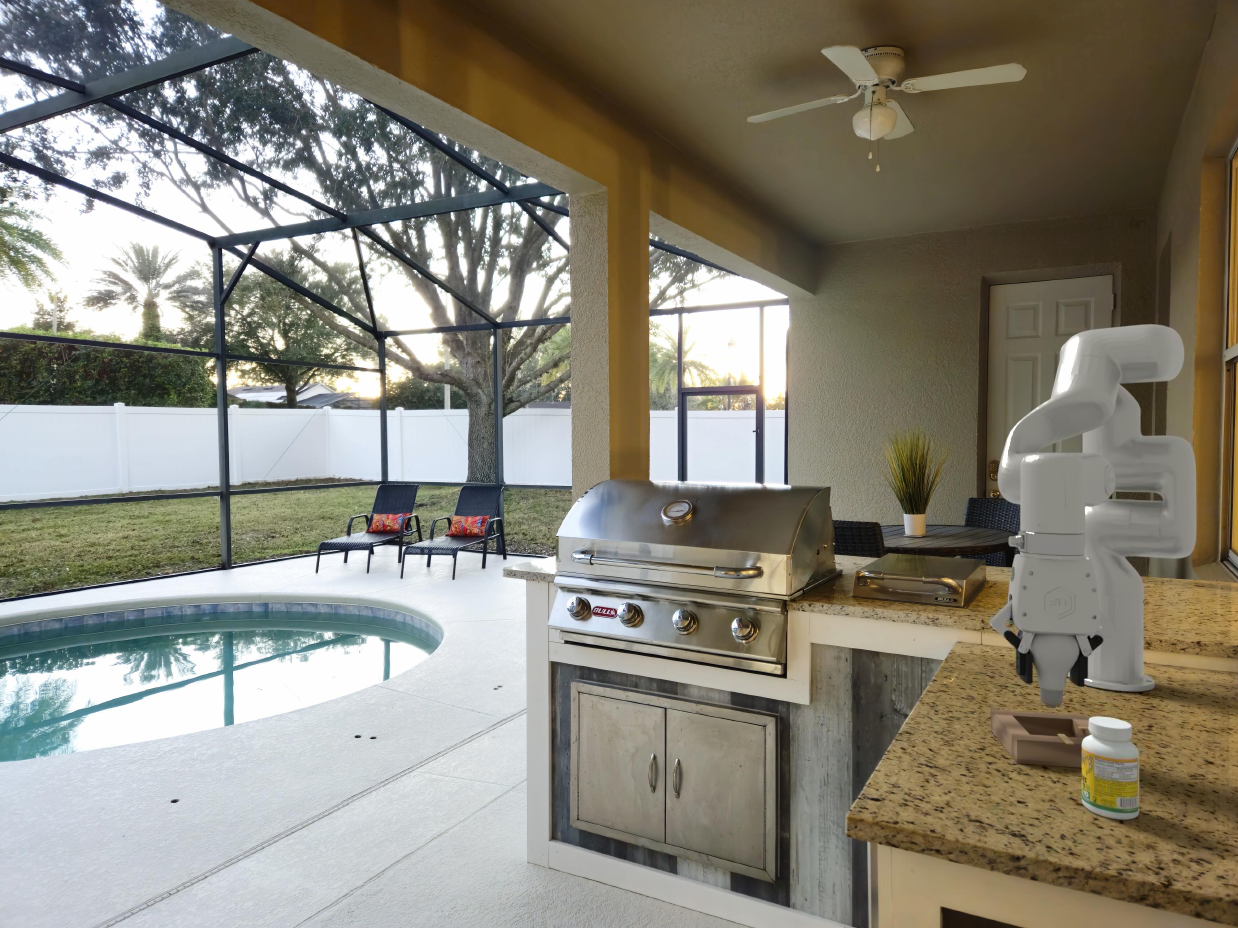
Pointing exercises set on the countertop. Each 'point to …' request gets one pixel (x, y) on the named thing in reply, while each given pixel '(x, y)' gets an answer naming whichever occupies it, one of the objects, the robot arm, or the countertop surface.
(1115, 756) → the supplement bottle
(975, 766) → the countertop surface
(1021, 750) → the socket block
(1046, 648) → the lightbulb
